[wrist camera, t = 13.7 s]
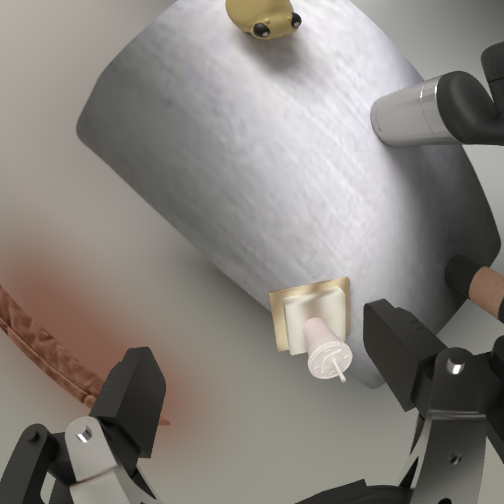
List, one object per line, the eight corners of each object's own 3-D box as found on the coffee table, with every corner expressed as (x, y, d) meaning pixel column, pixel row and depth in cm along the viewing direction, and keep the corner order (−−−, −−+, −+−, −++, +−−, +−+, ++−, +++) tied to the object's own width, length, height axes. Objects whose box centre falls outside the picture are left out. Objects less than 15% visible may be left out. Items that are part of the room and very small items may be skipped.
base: (346, 276, 46) (356, 285, 42) (347, 332, 49) (355, 344, 45) (268, 292, 46) (271, 303, 42) (277, 348, 49) (280, 361, 45)
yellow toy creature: (246, 60, 34) (250, 29, 24) (217, 9, 31) (214, -26, 21) (302, 44, 34) (321, 14, 24) (271, -5, 30) (280, -39, 20)
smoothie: (339, 316, 43) (373, 369, 30) (319, 346, 45) (345, 403, 31) (307, 305, 42) (335, 360, 29) (288, 336, 44) (307, 396, 30)
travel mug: (469, 258, 47) (530, 292, 28) (456, 289, 49) (513, 329, 30) (452, 249, 46) (519, 283, 27) (439, 281, 48) (501, 325, 29)
